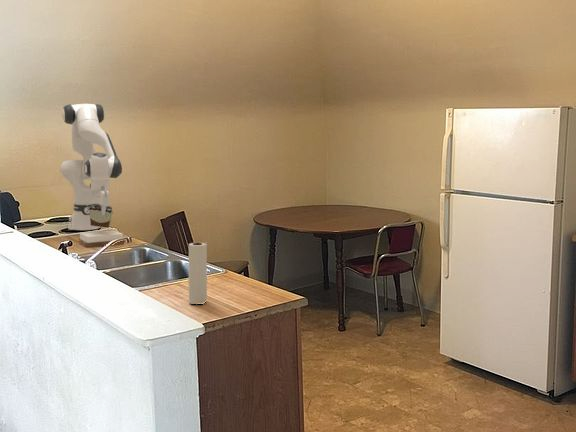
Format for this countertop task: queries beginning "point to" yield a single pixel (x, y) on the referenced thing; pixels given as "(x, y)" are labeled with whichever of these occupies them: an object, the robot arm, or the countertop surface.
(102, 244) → the tower bottom
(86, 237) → the tower top
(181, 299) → the countertop surface
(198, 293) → the paper towel roll
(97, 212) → the food container
